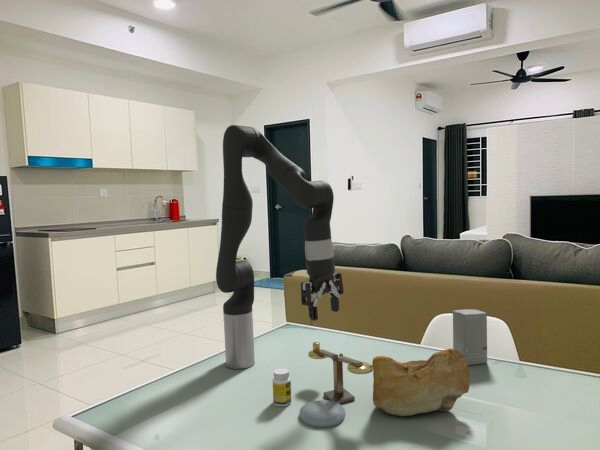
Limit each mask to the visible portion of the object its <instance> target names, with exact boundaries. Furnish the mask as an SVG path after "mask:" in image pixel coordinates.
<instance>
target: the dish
mask: <svg viewBox="0 0 600 450" xmlns="http://www.w3.org/2000/svg"><path fill="white" fill-rule="evenodd" d="M345 418H346V409H345V406H343V405H342V404H339V403H336V402H333V401H329V400H327V399H323V400H322V399H320V400H319V399H318V400H313V401H309V402H307V403H304V405H302V406H301V408H300V409H299V419H300V421H301V422H302V424H303V423H304V424H305V425H306V426H308V427H309V426H310V427H314V428H322V429H323V428H325V429H326V428H331V427H336V426H338V425H340V424H341V423H342V422H344V420H345Z"/></svg>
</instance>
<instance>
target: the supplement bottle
mask: <svg viewBox="0 0 600 450" xmlns="http://www.w3.org/2000/svg"><path fill="white" fill-rule="evenodd" d="M291 386H292V383H291V377H290V370H289V369H288V368H285V367H284V368H283V367H282V368H277V369H275V370H273V379H272V402H273V404H274V405H275V406H277V407H287V406H289V405H291V404H292V387H291Z"/></svg>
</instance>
